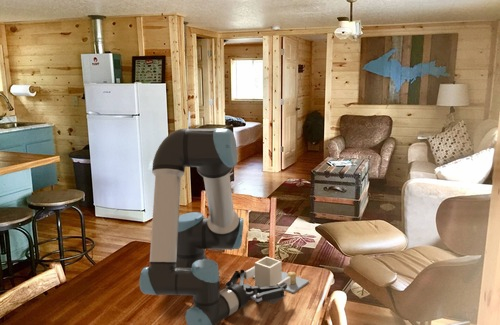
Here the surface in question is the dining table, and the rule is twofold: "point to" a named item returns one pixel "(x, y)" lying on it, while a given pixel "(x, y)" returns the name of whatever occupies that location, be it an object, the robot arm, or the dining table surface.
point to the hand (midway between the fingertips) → (273, 274)
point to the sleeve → (268, 272)
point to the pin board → (293, 287)
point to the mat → (276, 300)
